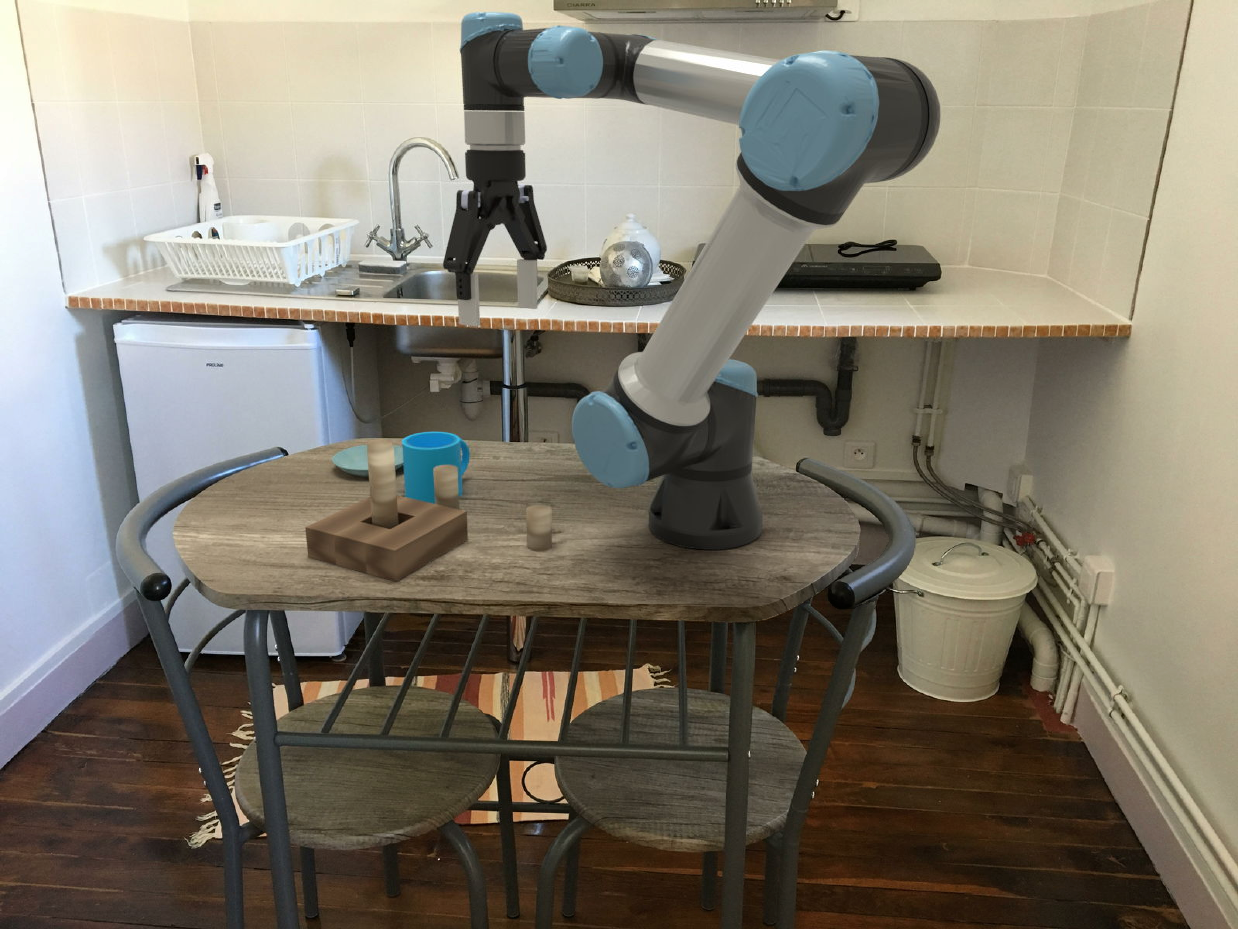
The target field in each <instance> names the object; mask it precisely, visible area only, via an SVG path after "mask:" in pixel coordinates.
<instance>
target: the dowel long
mask: <svg viewBox="0 0 1238 929" xmlns="http://www.w3.org/2000/svg"><path fill="white" fill-rule="evenodd" d="M365 445H367V458H368V471H369V477H368V481H369V482H368V483H369V484H368V485H369V494H370V496H369V497H370V498H371V512H372V525H375V526H379V527H383V528H387V529H392V528H394V527H396V526H397V525H399V522H398V507H397V495H398V493H397V480H396V479H397V478H396V470H395V460H394V445H395V444H394V441H393V440H392V439H387V438H375V439H371V440H368V441H367V442H366V444H365Z"/></svg>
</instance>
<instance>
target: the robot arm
mask: <svg viewBox="0 0 1238 929" xmlns="http://www.w3.org/2000/svg"><path fill="white" fill-rule="evenodd" d="M460 26H461V28H460V48H459V54H460V62H461V82H462V103H463V112H464V113H463V117H464V118H463V119H464V120H463V121H464V143H465V144H466V145H467V146H469V149H466V151H465V152H464V158H465V159H464V160H465V161H464V163H465V177H466V179H467V180H469V181H472V183H473V187H472V190H464V189H463V190H461V189H459V190H457V192H456V196H455V197H456V201H455V203H456V205H455V206H456V207H455V212H454V217H453V222H452V225H451V230H450V233H449V238H448V242H447V246H446V250H445V254H444V257H443V262H442V267H443V269H444V270H447V272H449V273H451V274H453V273H454V274H455V287H456V288H455V289H456V293H455V294H456V299H457V307H458V308H457V309H458V311H457V312H458V325H463V326H469V327H479V326H481V318H480V317H481V316H480V315H481V314H480V289H479V288H480V285H479V284H480V282H479V273H477V272H476V273H475V268H476V266H477V263H478V261H479V259H480V257H481V254H482V252H483V249H484V246H485V245H486V242H487V240H488V238H489V235H490V232H491V231H492V230H494V229H495V228H496V226H499V225H503V226H504V228H505V229H506V231H507V233H508V235H509V236H510V239H511V241H512V242H513V245H514V246H515V248H516V250H517V251H518V253H519V256H520V258H519V259H516V271H517V272H516V275H517V307H518V308H521V309H522V308H523V309H532V310H536V309H538V260H539V261H540V260H541V261H543V260H544V259H545V257H546V253H547V250H548V246H547V243H546V240H545V239H546V238H545V236H544V232H543V228H542V225H541V221H540V218H539V214H538V210H537V208H536V203H535V199H534V198H535V197H534V188H533V185H532V184H531V185H530V184H519V183H518V182H521V181H523V180H525V178H526V152H525V151H524V150H523V149H521V148H522V146H524V145H525V144H526V126H525V125H526V120H525V112H524V111H525V98H546V99H547V98H548V99H549V98H550V99H551V98H552V99H558V100H562V99H566V100H568V99H569V100H571V99H608V100H619V101H620V100H622V101H627V102H632V103H635V104H640V105H646V106H651V107H652V106H653V107H657V108H662V109H666V110H670V111H674V112H675V111H676V112H680V113H684V114H688V115H693V116H697V117H702V118H706V119H710V120H715V121H718V122H723V123H728V124H732V125H736V126H738V128H739V129H740V131H741V136H740V137H739V139H738V142H739V149H740V153H739V155H738V156H737V158H736V159H735V160H736V161H735V170H736V173H737V176H738V180H739V186H738V188H737V189H736V191H735V193H734V194H733V197H732V198H731V200H730V202H729V203H728V205H727V207H726V208H725V210H724V212H723V214H722V215H721V217H720V219H719V220H718V222H717V224H716V225H715V227H714V229H713V231H712V233H711V235H710V236H709V238H708V239H707V241H706V243H705V245H704V246H703V248H702V250H701V251H700V253H699V254H698V257H697V259H696V260H695V262H694V263H693V265H692V267H691V268H690V270H689V272H688V274H687V276H686V277H685V279H684V281H683V282H682V284H681V286H680V287H679V290H678V291H677V293H676V294H675V296H674V298H673V300H672V301H671V303H670V305H669V307H668V308H667V310H666V311H665V313H664V315H663V317H662V318H661V320H660V322H659V323H658V325H657V326H656V329H655V330H654V331H653V332H654V333H652V336H651V338H650V339H649V341H648V342H647V344H646V345H645V348H644V349H643V351H637V352H634V353H631V354H628V355H627V356H626V357H625V358H624V359H623V360H622V361H621V362H620V364H619V366H618V367H617V369H616V371H615V372H614V374H613V376H612V378H611V379H610V382H609V383H608V385H607V386H606V387H605V388H604V389H603V390H600V391H599V390H596V391H592V392H590V393H589V394H588V395H585V396H584V397H582V398H581V399H580V400H579V401H578V403H576V405H575V408H574V411H573V413H572V418H571V431H572V438H573V441H574V444H575V446H574V447H575V450H576V452H577V455H578V457H579V458H580V461H581V463H582V465H583V466H584V467H585V469H586V470H587V472H588V473H590V475H591V476H592V477H593V478H594V479H595V480H597V481H598V482H599V483H601V485H602V484H603V485H604V486H606V487H608V488H613V489H626V488H629V487H632V486H633V487H637V486H639V485H643V484H644V483H646V482H650V481H652V480H654V479H657V478H659V477H660V478H659V481H658V484H657V487H656V490H655V492H654V494H653V497H652V500H651V501H650V502H651V503H650V505H649V508H648V509H649V510H648V529H649V531H650V532H651V534H653V536H655V537H656V538H658V539H660V540H662V541H664V542H666V543H669V544H672V545H674V546H679V547H682V548H688V549H689V548H690V549H697V550H726V549H732V548H733V549H734V548H737V547H741V546H745V545H748V544H750V543H753V542H754V541H755V540H757V539H758V538H759V537H760V535H761V534H762V531H763V530H762V528H763V511H762V509H761V505H760V504H761V503H760V502H759V501H760V500H759V497H758V493H757V490H756V486H755V483H754V478H753V474H752V473H753V457H754V444H755V442H754V441H755V428H756V427H755V426H756V412H757V398H759V394H758V392H757V390H758V388H757V386H758V385H757V383H758V382H757V379H758V378H757V372H756V371H755V369H754V368H753V366H752V365H749V364H748V363H746V362H743V361H740V360H737V359H736V360H735V359H733V358H732V359H731V357H732V355H733V353H734V352H735V351H736V349H737V348H738V346H739V344H740V343H741V341H742V339H743V338H744V337H745V336H746V334H747V333H748V330H749V329H750V328H751V327H752V325H753V323H754V322H755V320H756V319H757V317H758V315H759V314H760V313H761V311H762V310H763V308H764V306H765V305H767V302H768V301H769V299H770V298H771V296H772V294H773V293H774V291H775V290H776V288H778V286H779V284H780V282H781V281H782V279H783V278H784V277H785V275H786V274H787V271H788V270H789V269H790V268H791V266H792V264H793V263H794V261H795V259H797V257H798V255H800V253H801V251H802V250H803V248H804V246H805V245H806V243H807V242H808V240H809V239H810V237H811V236H812V234H813V232H814V231H815V230H821V229H827V228H831V227H834V226H836V225H837V224H838V222H839V221H840V220H841V219H842V217H843V216H844V214H845V213H846V211H847V210H848V208H849V207H850V206H851V204H852V202H853V200H854V199H855V197H856V196H857V195H858V194H859V193H860V191H861V189H862V188H863V186H864V185H865V184H871V183H874V184H875V183H881V182H887V181H892V180H894V179H897V178H899V177H902V176H905V175H906V174H907V173H909V172H910V171H912V170H914V169H915V168H916V167H917V166H918V165H919V164H921V162H923V161H924V160H925V158H926V157H927V155H928V154H929V152H930V151H931V149H932V147H933V146H934V144H935V142H936V138H937V136H938V134H939V130H940V126H941V105H940V99H939V96H938V93H937V90H936V88H935V87H934V85H933V83H932V81H931V80H930V79H929V77H928V76H927V75H926V74H925V73H924V72H923V71H922V70H921V69H919V67H917V66H915V65H913V64H911V63H910V62H907V61H904V60H901V59H898V58H893V57H883V56H882V57H879V56H869V55H868V56H867V55H866V56H863V55H855V54H853V55H852V54H848V53H846V52H842V51H838V50H837V51H835V50H828V49H827V50H818V51H813V52H806V53H804V52H803V53H798V54H793V55H791V56H787V57H786V58H783V59H778V58H770V57H765V56H758V55H752V54H746V53H741V52H735V51H730V50H729V51H728V50H721V49H717V48H716V49H715V48H710V47H704V46H699V45H692V44H686V43H679V42H675V41H669V40H662V39H658V38H655V37H651V36H648V35H643V34H635V33H633V34H632V33H631V34H622V33H608V32H607V33H606V32H601V31H590V30H589V31H588V30H587V29H585V28H583V27H579V26H569V25H568V26H566V25H565V26H563V25H553V26H551V27H543V28H542V27H541V28H532V29H524V27H523V26H524V25H523V20H522V17H521V16H520V15H518V14H516V13H511V12H503V11H502V12H501V11H500V12H499V11H487V12H486V11H485V12H481V11H478V12H476V11H475V12H470V13H467V14H466V15H464V16H463V18H462V20H461V24H460Z"/></svg>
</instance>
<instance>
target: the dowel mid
mask: <svg viewBox="0 0 1238 929" xmlns="http://www.w3.org/2000/svg"><path fill="white" fill-rule="evenodd" d="M433 471H434V490H435V504H438V505H442V506H446V507H451V508H455V509H459V510H460V497H459V488H458V468H457V467H456V466H454V465H440V466H436V467H435V468H434V469H433Z"/></svg>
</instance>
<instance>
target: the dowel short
mask: <svg viewBox="0 0 1238 929" xmlns="http://www.w3.org/2000/svg"><path fill="white" fill-rule="evenodd" d="M552 512H553V511H552V507H550V506H549V505H545V504H535V505H530V506H528V507H527V508H526V509H525V515H526V517H525V518H526V519H525V521H526V524H525V525H526V548H527V549H528V550H530V551H534V552H544V551H549V550H550V549H551V548H552V547H553V532H552V531H553V529H552V528H553V524H552V523H553V522H552V518H553V516H552V515H553V514H552Z"/></svg>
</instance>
